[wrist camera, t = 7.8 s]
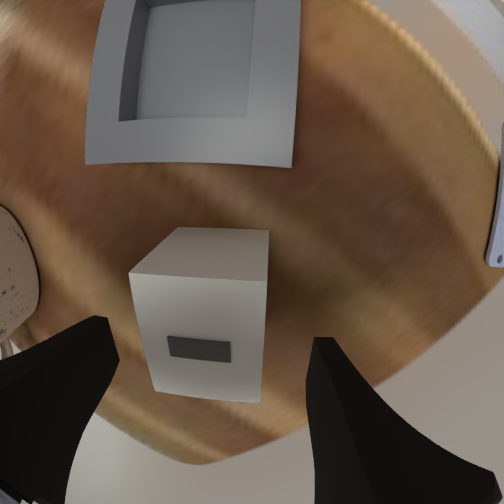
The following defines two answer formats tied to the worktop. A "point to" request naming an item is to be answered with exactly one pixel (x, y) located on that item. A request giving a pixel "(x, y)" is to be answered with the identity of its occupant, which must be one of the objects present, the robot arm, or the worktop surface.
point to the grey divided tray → (194, 82)
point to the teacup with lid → (15, 280)
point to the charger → (204, 312)
